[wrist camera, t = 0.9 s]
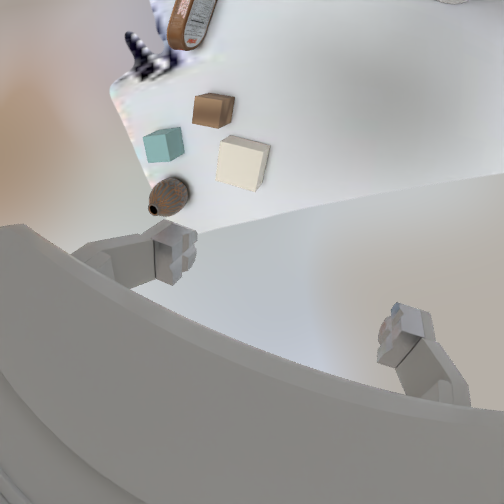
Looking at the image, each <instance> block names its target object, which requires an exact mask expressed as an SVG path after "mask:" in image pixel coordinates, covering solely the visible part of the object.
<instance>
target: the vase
mask: <svg viewBox="0 0 504 504" xmlns="http://www.w3.org/2000/svg"><path fill="white" fill-rule="evenodd" d="M187 198H188V192H187V189H186V187H185V185H184V184H183V183H182V182H181V181H179V180H177V179H174V178H169V179H165V180H162V181H161V182H159V183H158V184H156V185H155V187H154V188H153V189H152V191H151V193H150V197H149V206H148V210H149V212H150V214H152V215H153V216H158V215H159V216H164V217H167V216H172V215H174V214H176V213H178V212H179V211H180V210H181V209H182V208H183V207H184V206H185V204H186V201H187Z"/></svg>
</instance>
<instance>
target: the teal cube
mask: <svg viewBox="0 0 504 504" xmlns="http://www.w3.org/2000/svg"><path fill="white" fill-rule="evenodd" d="M143 141H144V146H145V150H146V155H147V160H148V163H154V162H170V161H172V160H174V159H175V158H177V157H178V156H180V155H182V154H183V153H185V152H184V146H183V140H182V134H181V127H179V128H171V129H163V130H158V131H155V132H153V133H151V134H149V135H146V136H144V137H143Z"/></svg>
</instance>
